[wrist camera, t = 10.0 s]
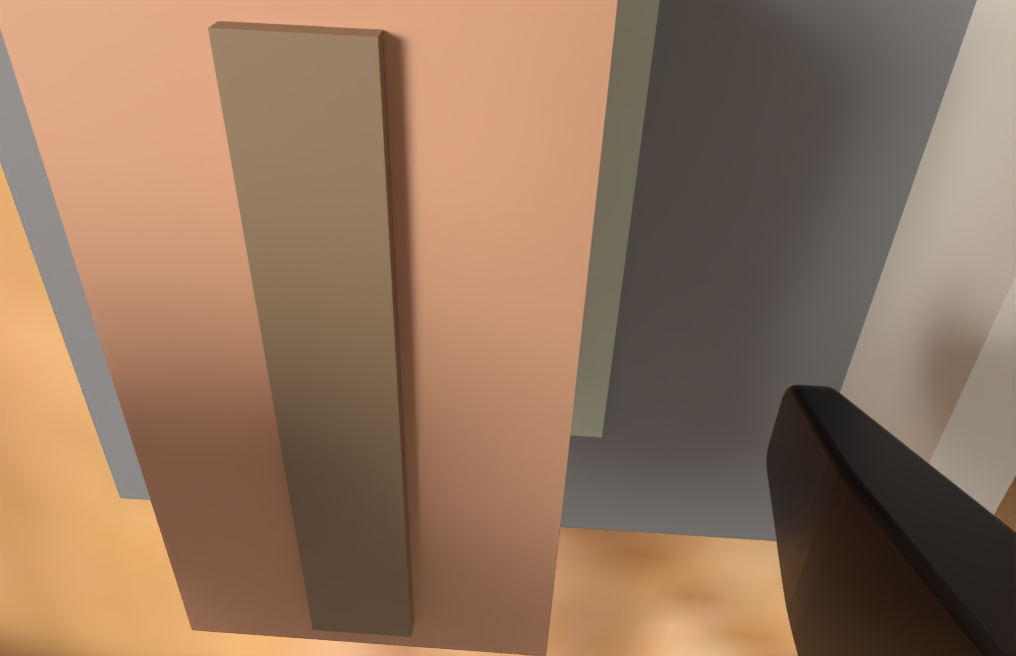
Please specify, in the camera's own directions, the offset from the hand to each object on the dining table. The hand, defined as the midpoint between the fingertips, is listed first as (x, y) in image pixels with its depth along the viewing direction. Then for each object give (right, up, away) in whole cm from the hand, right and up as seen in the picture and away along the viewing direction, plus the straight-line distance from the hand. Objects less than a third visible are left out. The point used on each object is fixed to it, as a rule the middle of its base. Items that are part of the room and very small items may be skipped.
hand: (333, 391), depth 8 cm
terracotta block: (0, +3, +4) cm, 5 cm away
